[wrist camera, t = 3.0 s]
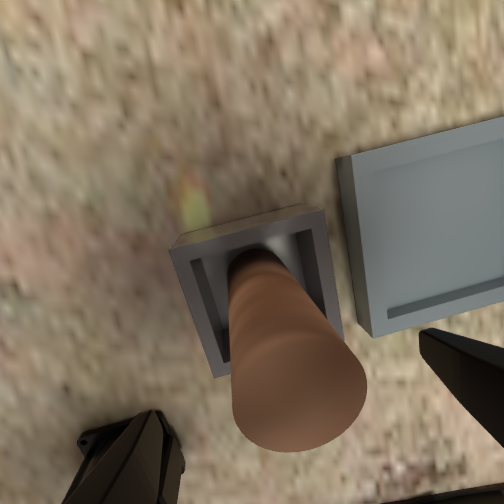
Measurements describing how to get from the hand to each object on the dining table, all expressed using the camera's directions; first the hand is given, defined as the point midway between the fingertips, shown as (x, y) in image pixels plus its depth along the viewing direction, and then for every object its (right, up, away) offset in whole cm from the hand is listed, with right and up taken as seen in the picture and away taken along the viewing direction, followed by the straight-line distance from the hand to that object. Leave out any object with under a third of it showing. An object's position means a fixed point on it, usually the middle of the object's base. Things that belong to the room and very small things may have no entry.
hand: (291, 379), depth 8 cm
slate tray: (+12, +6, +10) cm, 16 cm away
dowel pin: (-1, +2, +9) cm, 9 cm away
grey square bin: (-1, +3, +9) cm, 10 cm away
